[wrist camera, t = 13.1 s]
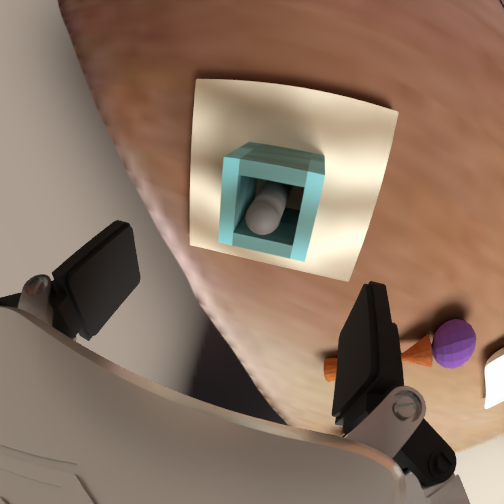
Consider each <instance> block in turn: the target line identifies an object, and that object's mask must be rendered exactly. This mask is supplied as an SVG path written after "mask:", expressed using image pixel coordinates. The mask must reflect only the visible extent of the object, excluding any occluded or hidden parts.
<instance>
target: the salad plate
mask: <svg viewBox="0 0 504 504" xmlns="http://www.w3.org/2000/svg"><path fill="white" fill-rule="evenodd" d="M484 374H485V383H486V399H485V406H484V407H485V409H488V408H490V407H492V406H494V405H496V404H498V403H500V402H502V401H504V347H503V348H501V349H500V350H498V351H497V352H495V353H494V354H493V355H492V356H491V357H490V358H489V359H488V360H487V362H486V364H485V369H484Z"/></svg>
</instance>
